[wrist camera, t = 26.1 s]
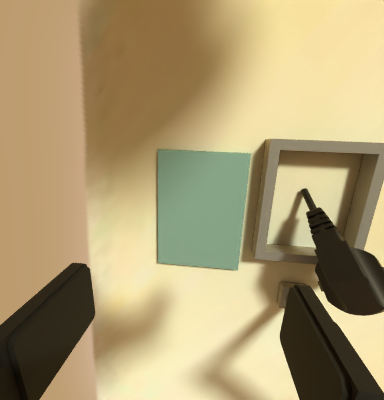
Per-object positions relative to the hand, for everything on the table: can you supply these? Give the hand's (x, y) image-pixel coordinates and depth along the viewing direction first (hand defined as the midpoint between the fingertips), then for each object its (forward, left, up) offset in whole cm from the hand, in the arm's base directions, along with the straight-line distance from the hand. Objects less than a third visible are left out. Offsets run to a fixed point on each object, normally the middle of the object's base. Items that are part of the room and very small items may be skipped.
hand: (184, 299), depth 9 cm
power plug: (-2, +13, -17) cm, 21 cm away
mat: (+1, 0, -15) cm, 15 cm away
